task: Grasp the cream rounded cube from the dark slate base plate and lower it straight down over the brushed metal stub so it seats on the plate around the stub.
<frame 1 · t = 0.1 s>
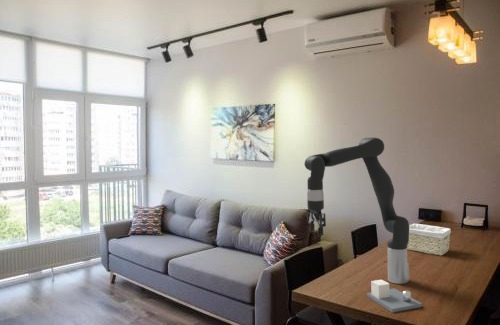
hand: (316, 233, 180), 29 cm above the table, fingers open, 8 cm apart
stub: (406, 300, 168), resting on base plate
cream rounded cube: (380, 295, 174), point 1 cm above the table, touching base plate
storage basket: (427, 250, 244), on the table
base plate: (393, 301, 171), on the table
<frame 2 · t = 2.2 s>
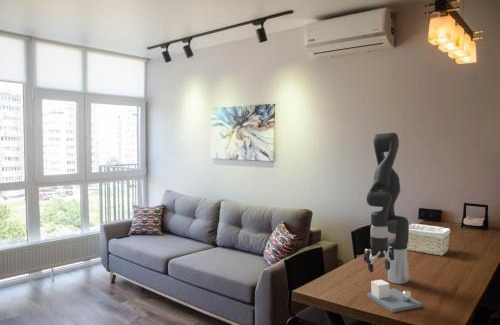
hand: (379, 270, 174), 13 cm above the table, fingers open, 8 cm apart
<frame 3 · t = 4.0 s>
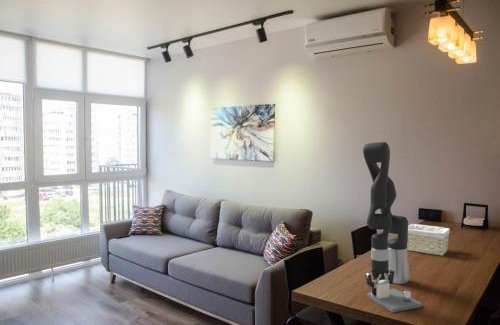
hand: (380, 294, 174), 2 cm above the table, fingers closed on cream rounded cube, 5 cm apart
cream rounded cube: (380, 295, 174), point 2 cm above the table, touching base plate, gripper
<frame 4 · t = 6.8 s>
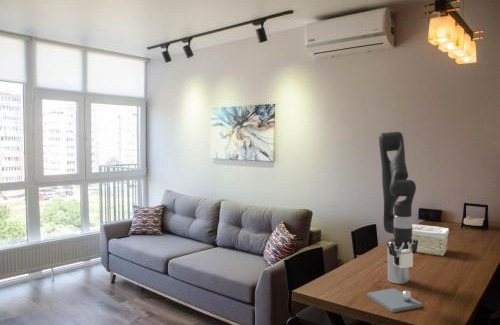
hand: (403, 264, 167), 18 cm above the table, fingers closed on cream rounded cube, 5 cm apart
cream rounded cube: (403, 265, 167), point 17 cm above the table, touching gripper
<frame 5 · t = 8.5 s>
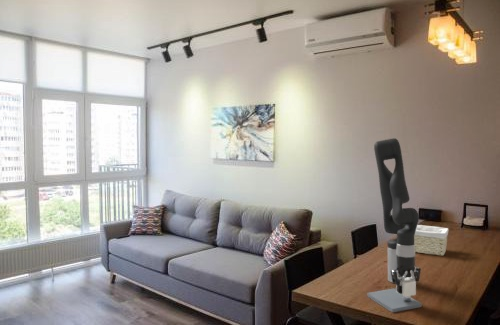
hand: (405, 292, 167), 5 cm above the table, fingers closed on cream rounded cube, 5 cm apart
cream rounded cube: (405, 293, 168), point 5 cm above the table, touching gripper
when the fingers open (4 cm above the table, at t = 9.9 s): cream rounded cube drops 2 cm, resting on base plate.
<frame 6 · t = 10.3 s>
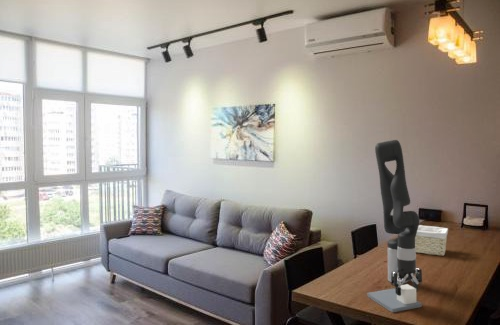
hand: (406, 293, 168), 5 cm above the table, fingers open, 8 cm apart
cream rounded cube: (406, 300, 168), point 1 cm above the table, touching base plate
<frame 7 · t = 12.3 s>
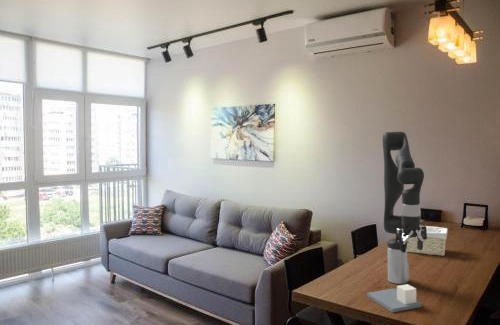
hand: (411, 250, 166), 24 cm above the table, fingers open, 8 cm apart
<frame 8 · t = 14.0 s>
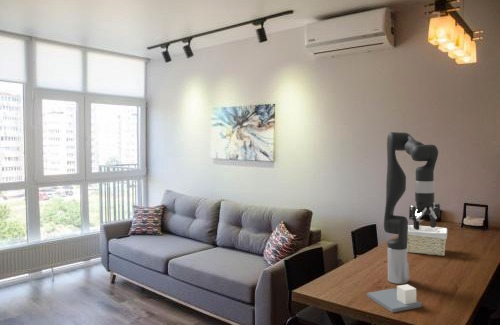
hand: (424, 228, 166), 33 cm above the table, fingers open, 8 cm apart
at the end: cream rounded cube 0.2 cm off-centre on the stub, point 0.0 cm above the stub's base; cream rounded cube tilted 0°; the gripper is holding nothing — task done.
